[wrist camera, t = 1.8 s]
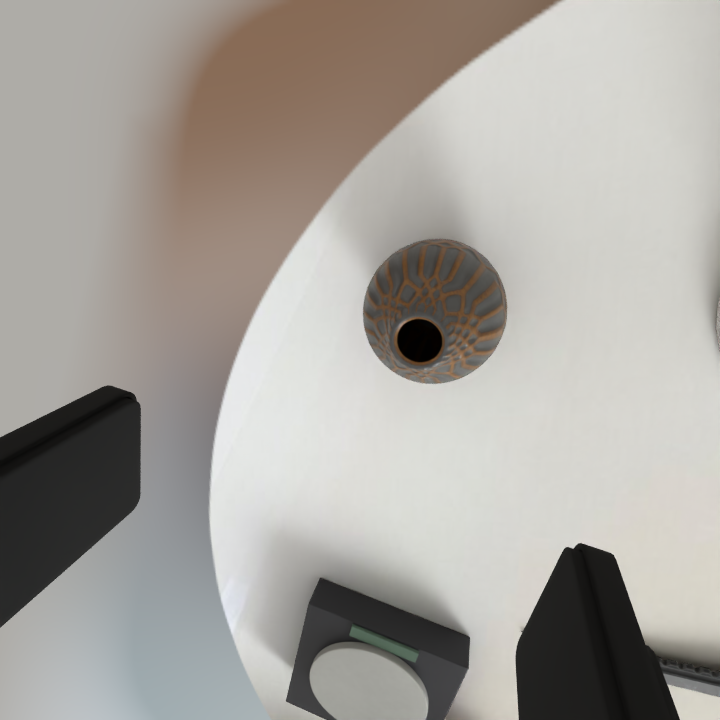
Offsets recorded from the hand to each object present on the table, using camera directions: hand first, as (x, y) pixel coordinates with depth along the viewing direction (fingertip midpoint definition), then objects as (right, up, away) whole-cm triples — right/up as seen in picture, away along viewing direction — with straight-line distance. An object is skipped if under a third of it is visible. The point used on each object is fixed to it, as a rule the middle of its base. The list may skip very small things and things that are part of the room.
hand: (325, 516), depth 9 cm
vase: (+5, +7, +16) cm, 18 cm away
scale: (+2, -21, +27) cm, 34 cm away
